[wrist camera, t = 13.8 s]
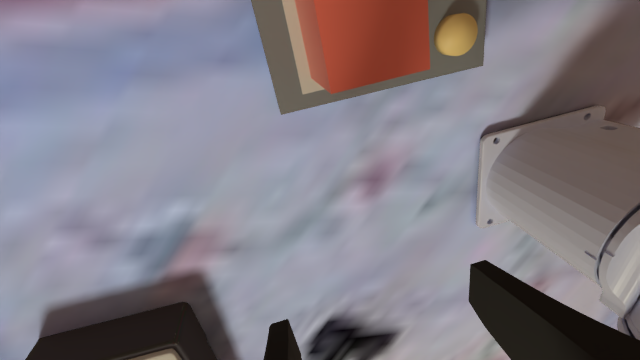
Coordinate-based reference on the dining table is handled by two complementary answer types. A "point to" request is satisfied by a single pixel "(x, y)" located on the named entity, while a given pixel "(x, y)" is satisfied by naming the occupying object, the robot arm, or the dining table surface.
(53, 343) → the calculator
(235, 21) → the dining table surface
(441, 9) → the panel
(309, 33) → the block
